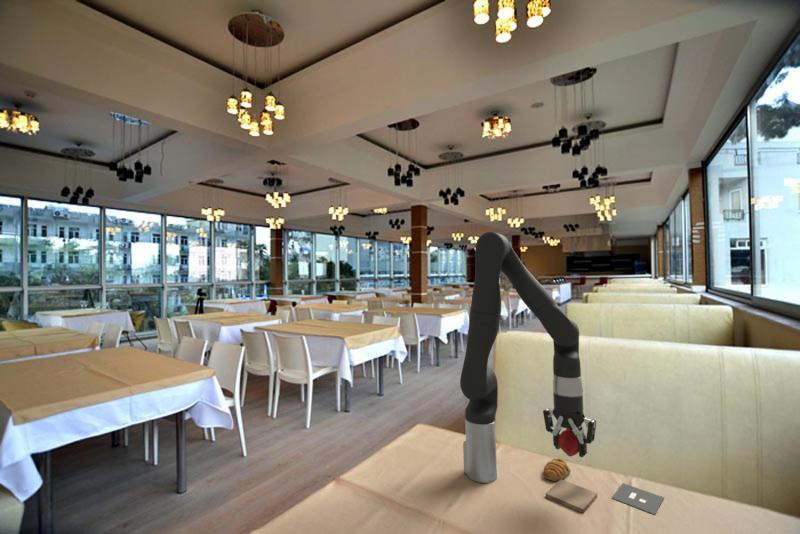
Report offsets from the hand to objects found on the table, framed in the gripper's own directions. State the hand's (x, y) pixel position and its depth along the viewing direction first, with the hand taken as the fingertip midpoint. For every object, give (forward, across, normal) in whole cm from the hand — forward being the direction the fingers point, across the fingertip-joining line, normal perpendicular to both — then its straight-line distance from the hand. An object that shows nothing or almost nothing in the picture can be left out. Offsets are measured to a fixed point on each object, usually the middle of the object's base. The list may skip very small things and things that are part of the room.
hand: (570, 452), depth 102 cm
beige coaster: (+12, 0, 0) cm, 12 cm away
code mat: (+12, +13, +12) cm, 22 cm away
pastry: (+13, -8, +9) cm, 17 cm away
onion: (+1, 0, 0) cm, 1 cm away
